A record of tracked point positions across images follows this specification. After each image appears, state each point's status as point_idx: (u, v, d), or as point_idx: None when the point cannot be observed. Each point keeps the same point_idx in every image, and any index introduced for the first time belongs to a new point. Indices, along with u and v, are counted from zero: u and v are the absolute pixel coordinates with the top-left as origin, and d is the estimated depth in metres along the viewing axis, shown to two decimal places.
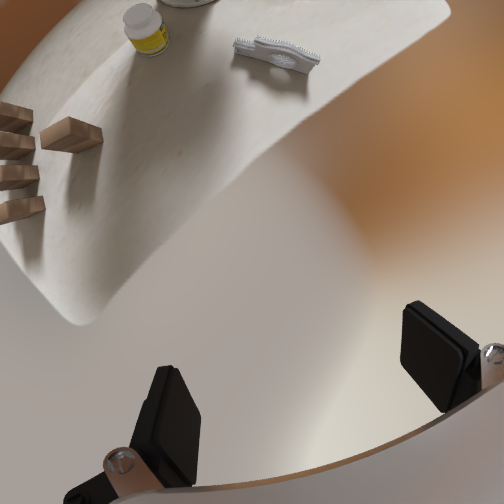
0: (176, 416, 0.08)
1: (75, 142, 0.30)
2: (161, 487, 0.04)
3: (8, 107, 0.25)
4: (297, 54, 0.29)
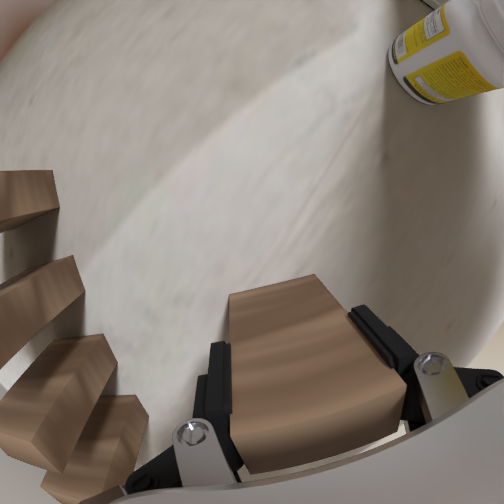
0: None
1: None
2: (226, 466, 0.05)
3: None
4: None
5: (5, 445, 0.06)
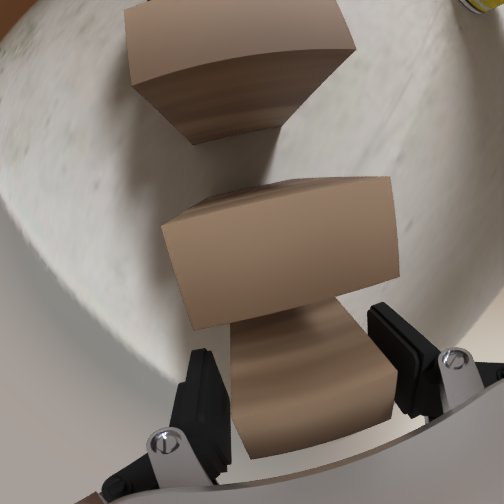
0: (213, 396, 0.08)
1: None
2: (201, 472, 0.05)
3: None
4: None
5: (181, 26, 0.04)
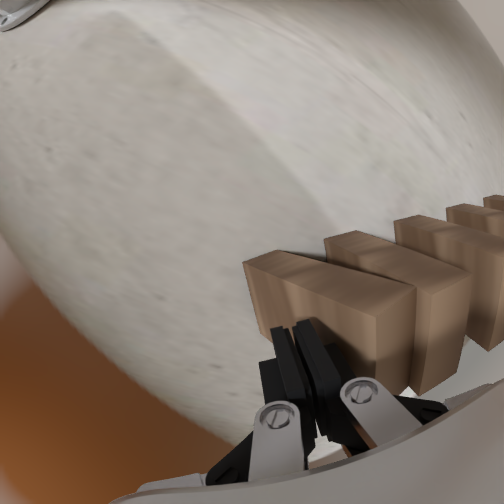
0: None
1: None
2: (300, 457, 0.05)
3: (334, 287, 0.10)
4: None
5: None
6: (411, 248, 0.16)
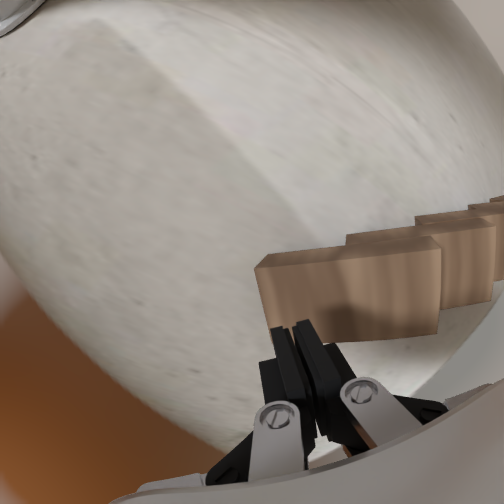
0: None
1: None
2: (299, 457, 0.05)
3: (387, 250, 0.13)
4: None
5: None
6: None
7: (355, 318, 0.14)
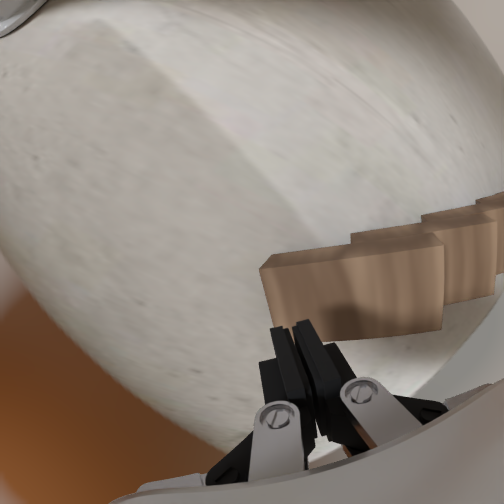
0: None
1: None
2: (299, 458, 0.05)
3: (391, 247, 0.13)
4: None
5: None
6: None
7: (360, 316, 0.14)
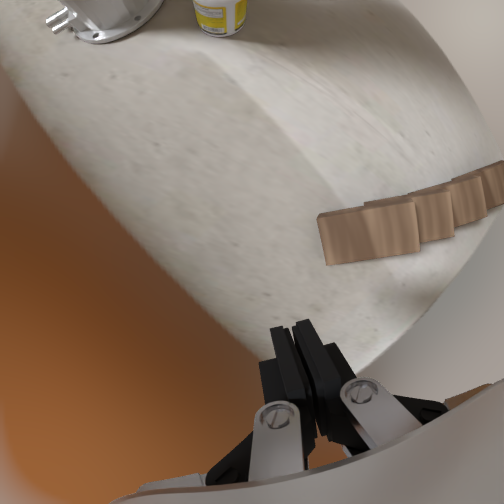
0: None
1: None
2: (299, 457, 0.05)
3: (386, 204, 0.25)
4: None
5: None
6: None
7: (373, 243, 0.26)
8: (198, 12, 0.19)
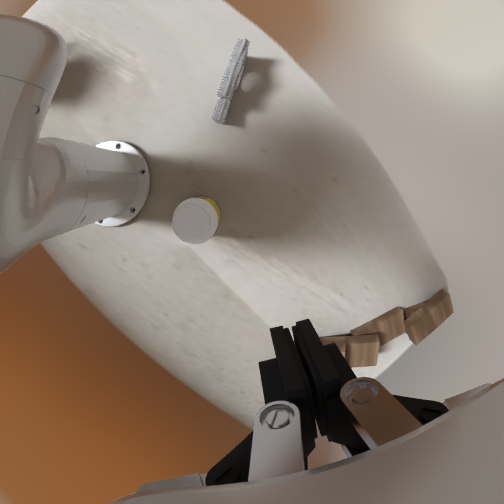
0: None
1: None
2: (300, 458, 0.05)
3: None
4: (242, 57, 0.29)
5: None
6: None
7: None
8: None
